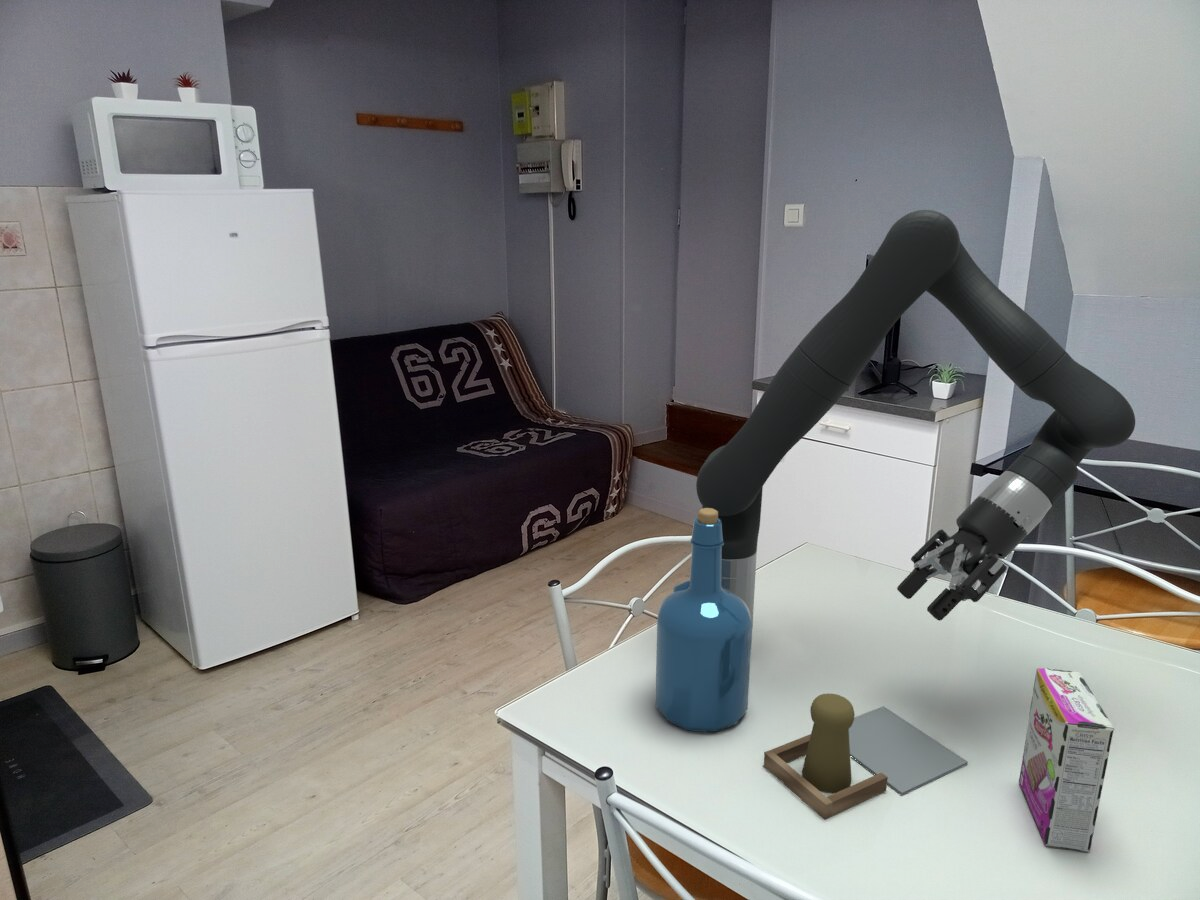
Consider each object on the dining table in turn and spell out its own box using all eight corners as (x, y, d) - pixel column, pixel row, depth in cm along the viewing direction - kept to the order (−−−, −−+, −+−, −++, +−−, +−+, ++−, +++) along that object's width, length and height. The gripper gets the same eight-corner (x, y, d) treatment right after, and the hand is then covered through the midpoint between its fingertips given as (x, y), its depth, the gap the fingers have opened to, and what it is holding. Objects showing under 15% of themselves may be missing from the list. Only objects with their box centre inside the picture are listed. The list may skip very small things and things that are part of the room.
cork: (812, 755, 107) (818, 681, 104) (858, 773, 104) (866, 697, 101) (794, 780, 103) (800, 703, 99) (841, 800, 99) (849, 721, 96)
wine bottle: (761, 731, 112) (774, 525, 104) (666, 741, 110) (671, 532, 102) (729, 676, 125) (739, 490, 117) (644, 684, 123) (647, 495, 115)
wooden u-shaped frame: (763, 765, 105) (764, 752, 105) (822, 741, 110) (823, 728, 109) (824, 819, 96) (826, 805, 96) (886, 791, 101) (887, 777, 100)
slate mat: (819, 733, 112) (820, 731, 112) (883, 708, 117) (883, 705, 117) (901, 795, 100) (901, 792, 100) (967, 764, 106) (968, 761, 105)
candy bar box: (1014, 782, 102) (1034, 665, 98) (1058, 787, 101) (1080, 670, 97) (1042, 848, 92) (1066, 721, 87) (1091, 855, 91) (1118, 727, 86)
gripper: (956, 485, 113) (874, 571, 114) (1016, 506, 99) (923, 604, 100) (991, 521, 115) (910, 605, 115) (1056, 546, 101) (964, 642, 101)
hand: (916, 604), depth 108 cm, fingers open, 8 cm apart
